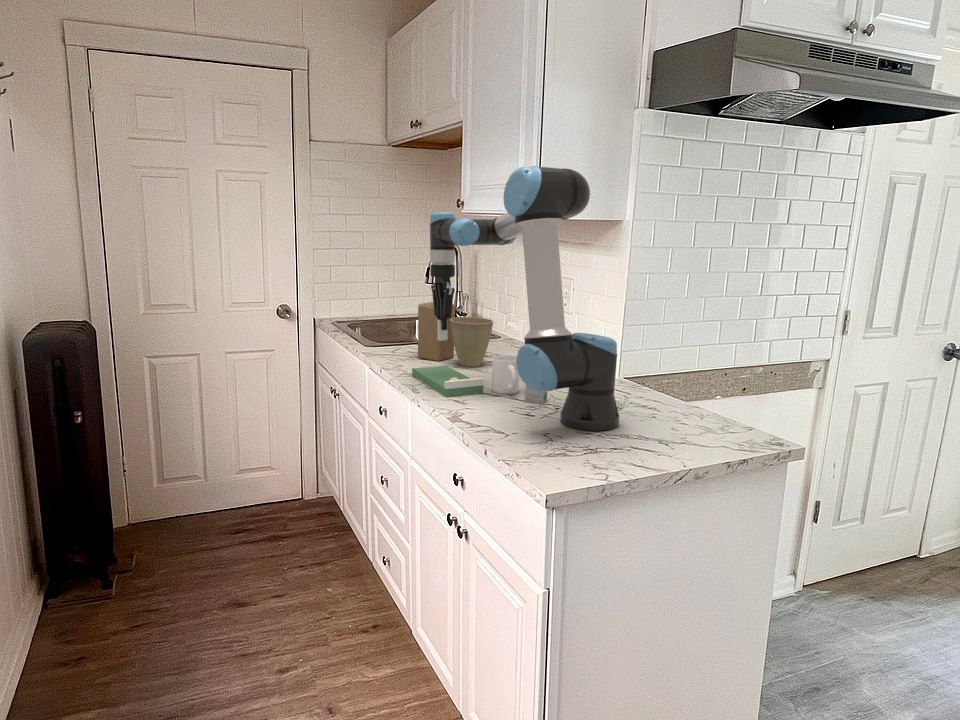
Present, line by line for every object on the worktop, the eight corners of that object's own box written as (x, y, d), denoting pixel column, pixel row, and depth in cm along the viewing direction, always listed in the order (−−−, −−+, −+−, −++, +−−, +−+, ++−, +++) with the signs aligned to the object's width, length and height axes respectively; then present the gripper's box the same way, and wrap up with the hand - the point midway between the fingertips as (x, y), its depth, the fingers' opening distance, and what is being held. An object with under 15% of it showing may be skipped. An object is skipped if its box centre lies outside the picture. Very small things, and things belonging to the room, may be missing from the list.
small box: (543, 403, 198) (544, 387, 197) (523, 401, 199) (524, 385, 198) (547, 398, 203) (548, 382, 202) (528, 397, 205) (529, 380, 204)
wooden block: (455, 357, 256) (455, 303, 251) (439, 362, 247) (439, 306, 243) (433, 353, 261) (433, 300, 257) (416, 358, 253) (417, 303, 248)
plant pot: (468, 371, 234) (469, 324, 230) (441, 363, 245) (441, 319, 241) (500, 366, 243) (502, 321, 240) (473, 358, 254) (474, 315, 251)
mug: (527, 397, 204) (528, 363, 202) (500, 399, 201) (501, 364, 199) (513, 387, 215) (515, 354, 213) (488, 388, 213) (489, 355, 210)
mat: (483, 393, 207) (483, 378, 206) (446, 397, 202) (446, 382, 201) (445, 372, 231) (446, 359, 230) (412, 375, 226) (412, 362, 225)
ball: (460, 391, 212) (463, 382, 209) (449, 392, 210) (452, 383, 208) (456, 382, 214) (459, 374, 211) (445, 383, 212) (448, 375, 210)
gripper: (462, 264, 208) (462, 342, 213) (445, 262, 220) (445, 336, 224) (439, 265, 205) (439, 344, 209) (423, 262, 216) (423, 337, 221)
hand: (442, 339), depth 217 cm, fingers closed
